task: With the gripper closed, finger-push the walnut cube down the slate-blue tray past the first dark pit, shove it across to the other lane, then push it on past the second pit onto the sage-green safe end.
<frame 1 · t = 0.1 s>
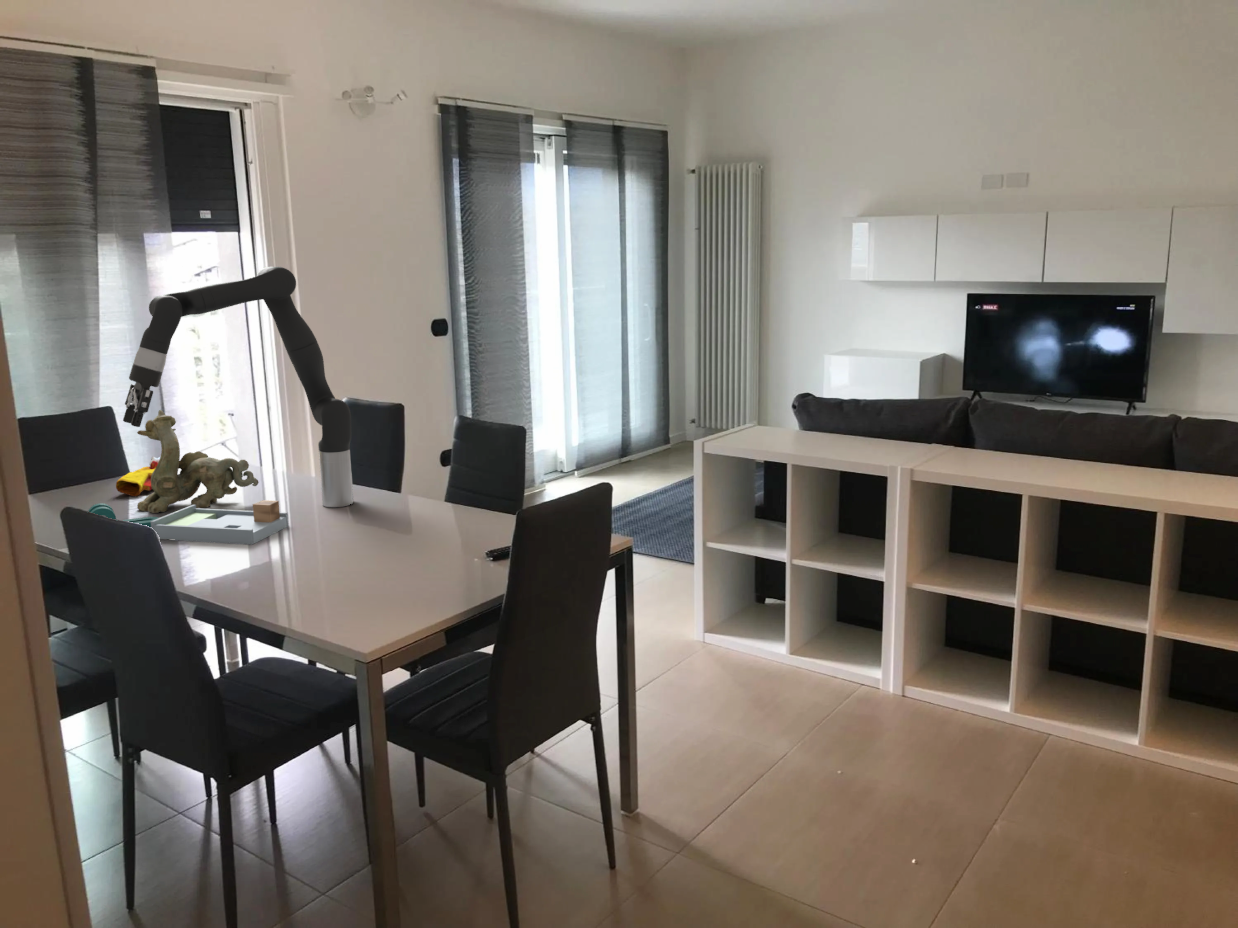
hand: (131, 424, 268), 31 cm above the table, tool tilted 20°, fingers open, 8 cm apart
sculpture: (196, 506, 309), on the table
bracket: (125, 530, 282), on the table
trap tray: (223, 532, 278), on the table
toy: (156, 487, 334), on the table
block: (267, 519, 279), point 3 cm above the table, touching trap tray
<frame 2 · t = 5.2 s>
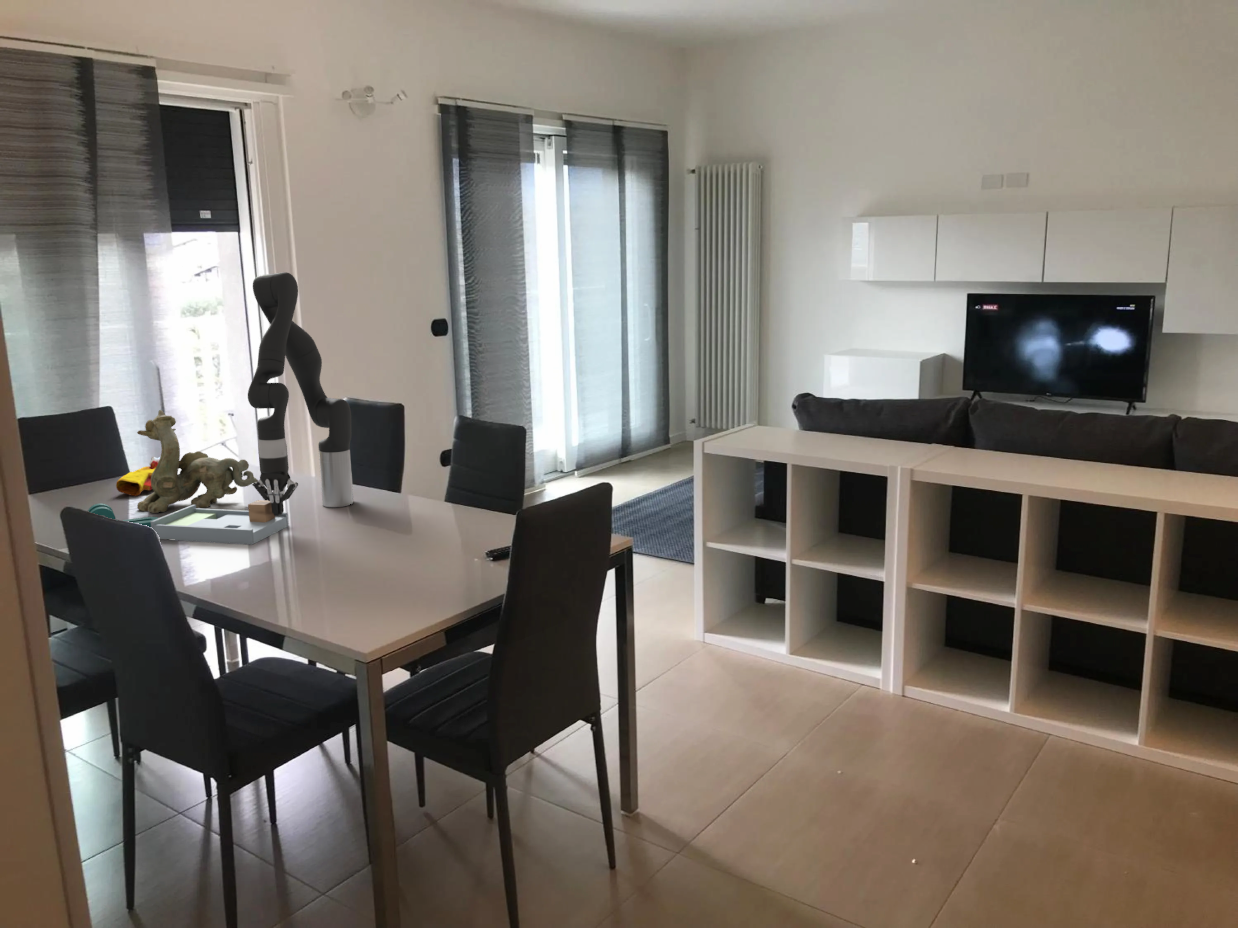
hand: (278, 515, 278), 5 cm above the table, tool pointing down, fingers closed
block: (262, 519, 279), point 3 cm above the table, touching gripper
everything else where it was.
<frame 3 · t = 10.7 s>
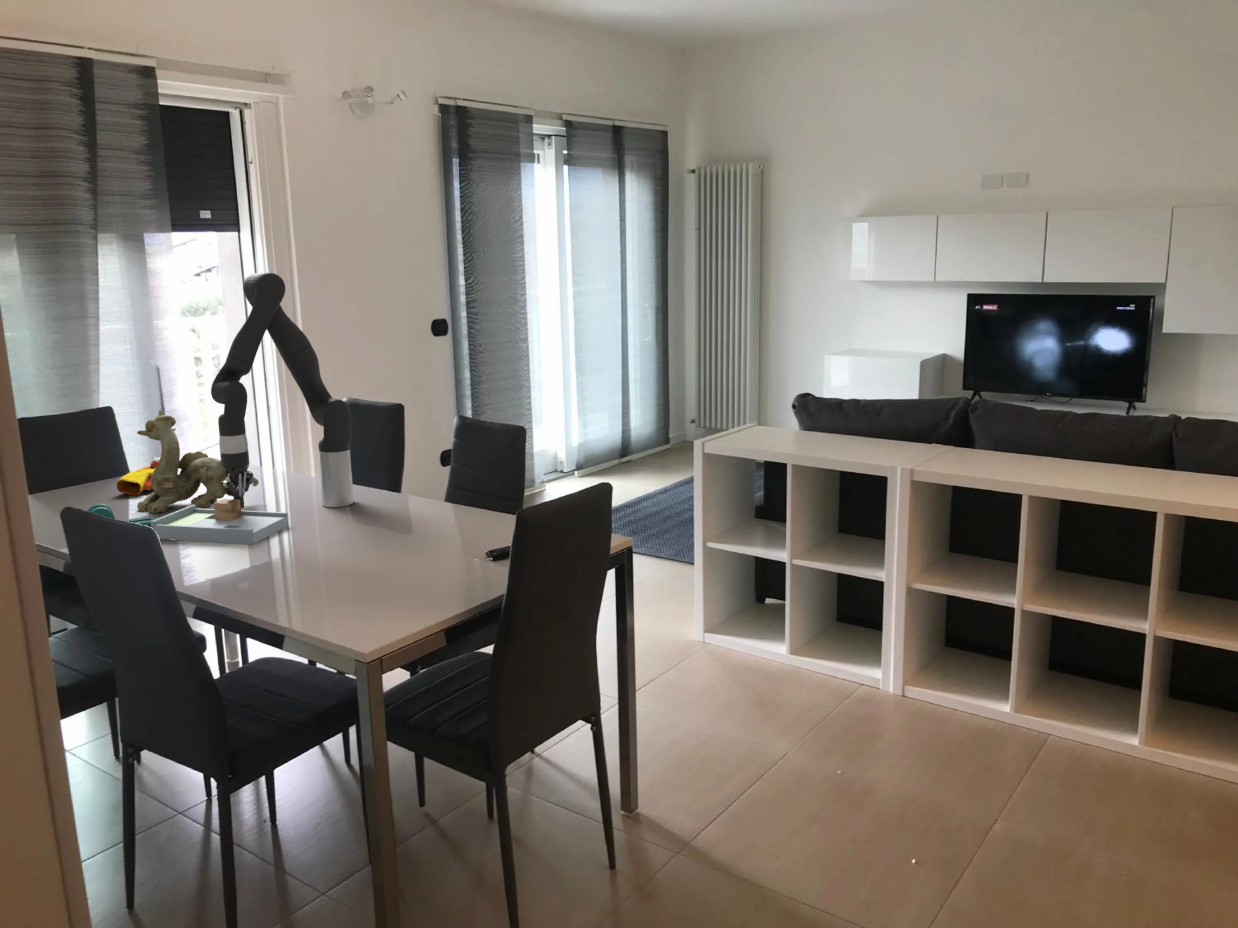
hand: (239, 508, 285), 5 cm above the table, tool pointing down, fingers closed
block: (228, 518, 281), point 3 cm above the table, touching gripper, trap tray
everything else where it was.
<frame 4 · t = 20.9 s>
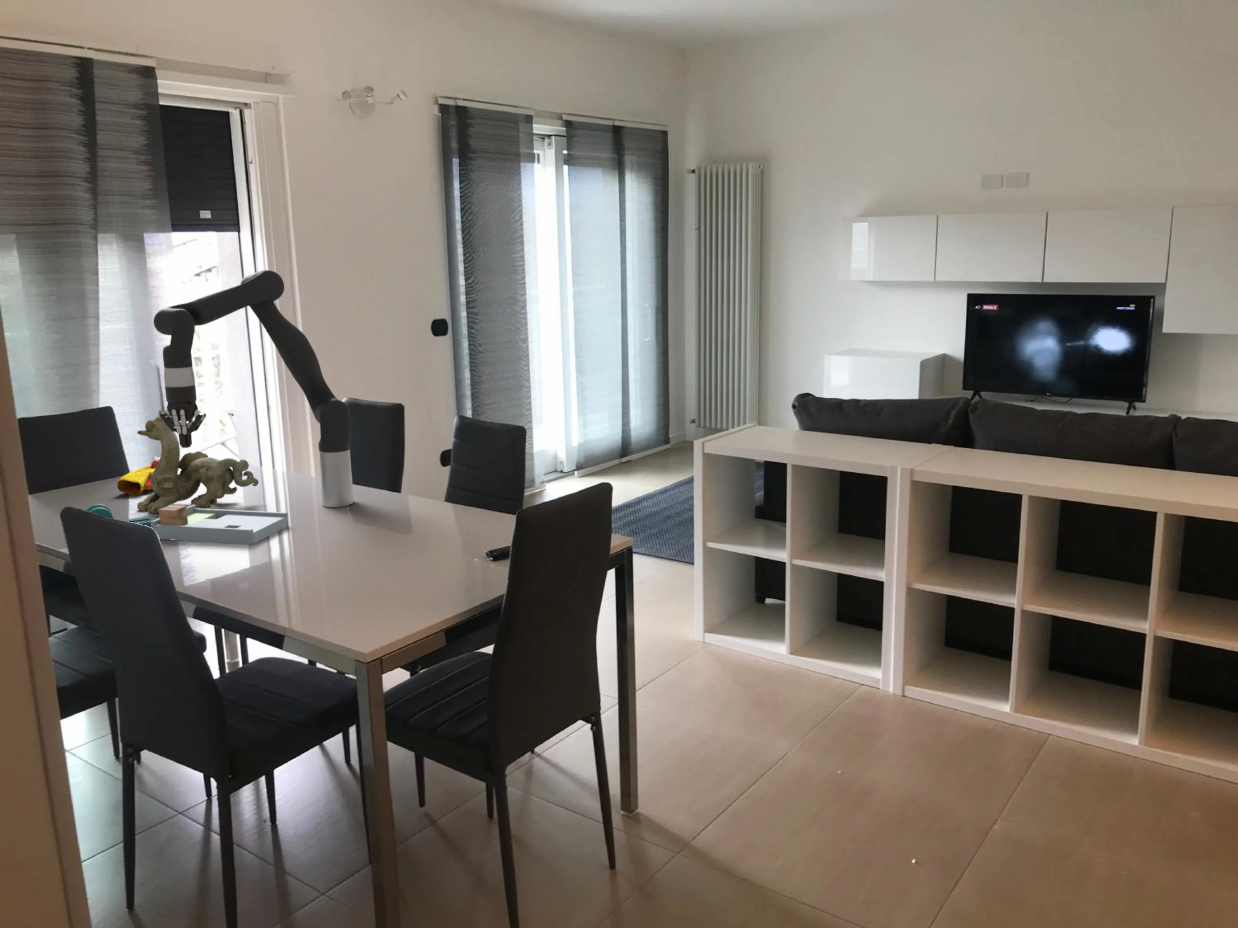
hand: (186, 447, 269), 25 cm above the table, tool pointing down, fingers closed
block: (174, 525, 274), point 3 cm above the table, touching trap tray
everything else where it was.
at the end: block inside the target area on the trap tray (5.3 cm from its centre), point 3.0 cm above the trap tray's base; block tilted 0° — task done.
